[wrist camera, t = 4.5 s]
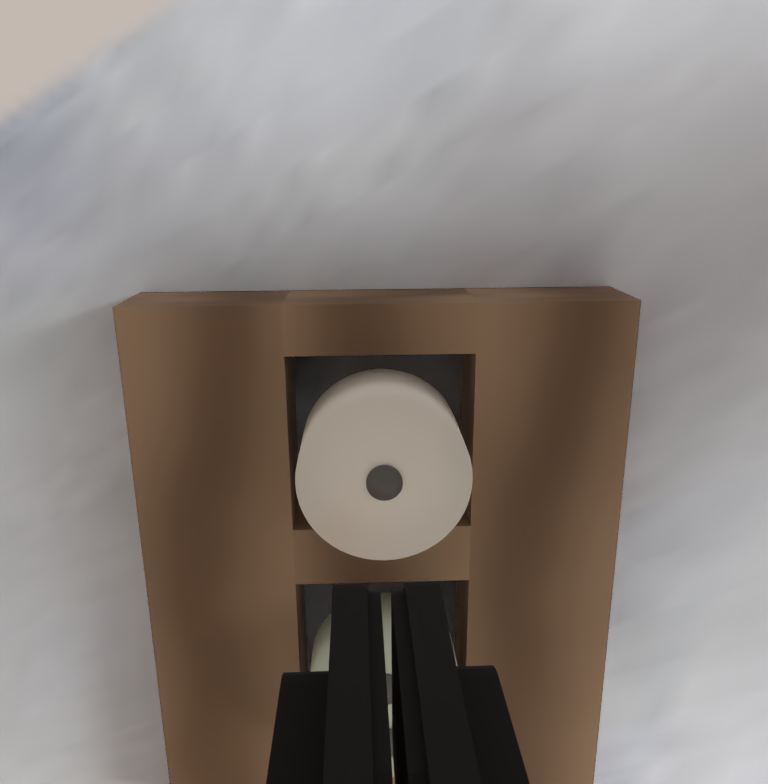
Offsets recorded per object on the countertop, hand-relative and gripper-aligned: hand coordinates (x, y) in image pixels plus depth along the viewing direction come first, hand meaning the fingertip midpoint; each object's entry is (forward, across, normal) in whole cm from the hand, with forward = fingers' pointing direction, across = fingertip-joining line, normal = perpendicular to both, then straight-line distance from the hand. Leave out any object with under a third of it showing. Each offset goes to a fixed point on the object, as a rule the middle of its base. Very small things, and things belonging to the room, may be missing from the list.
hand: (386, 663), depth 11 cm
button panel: (+12, 0, +7) cm, 14 cm away
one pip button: (+9, 0, 0) cm, 9 cm away
